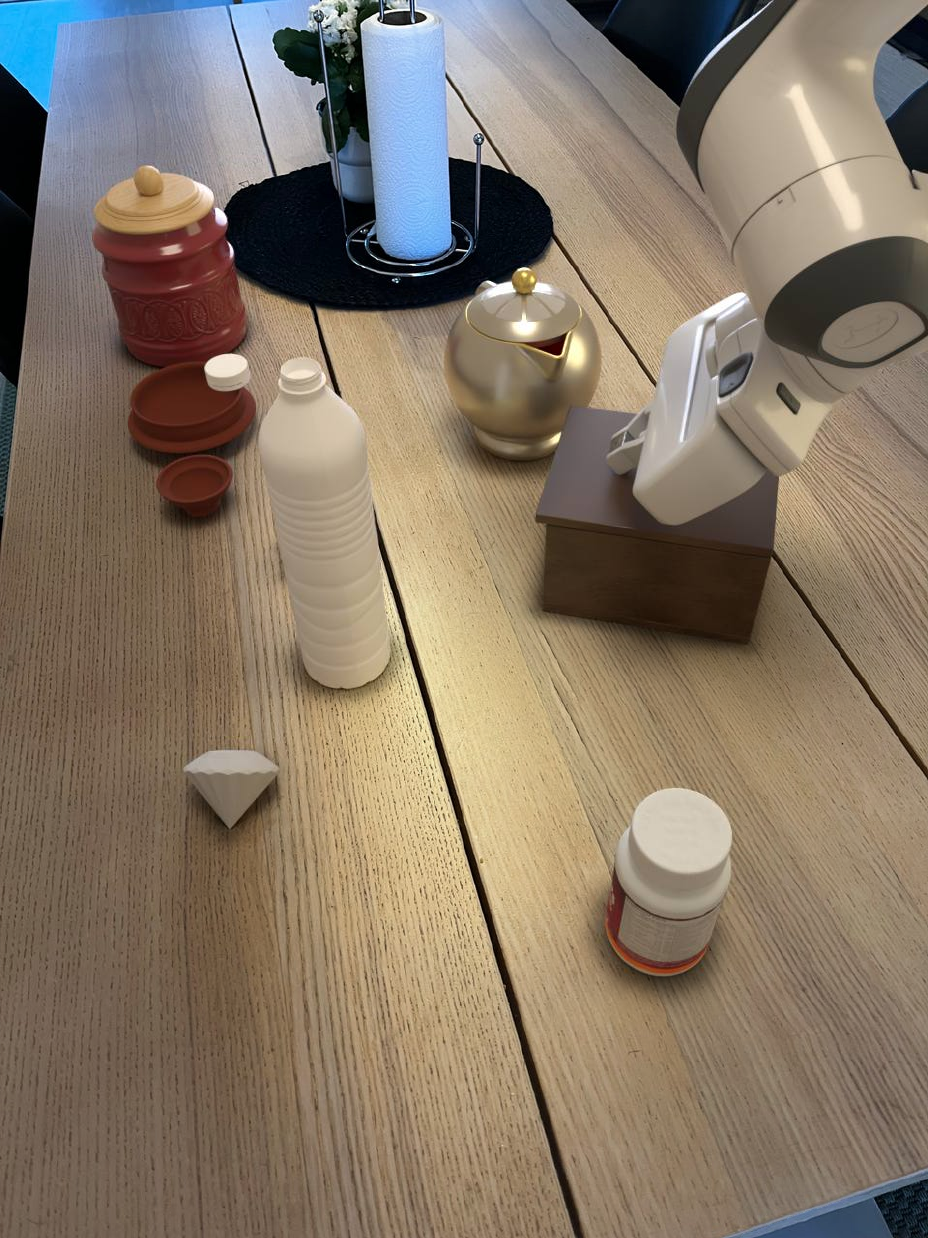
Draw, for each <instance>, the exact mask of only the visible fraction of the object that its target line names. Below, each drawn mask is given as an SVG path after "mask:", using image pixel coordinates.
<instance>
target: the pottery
mask: <svg viewBox="0 0 928 1238" xmlns="http://www.w3.org/2000/svg"><path fill="white" fill-rule="evenodd" d="M206 363H207V362H186V363H180V364H175V365H171V366H168V367H162V368H160V369H157V370H156V371H153V372H152V373H150V374H148V375H147V376H145V377H144V378H143V379H141V380H140V381H139V382H138V383H137V384H136V385H135V387H134V388H133V390H132V392H131V394H130V398H129V404H130V408H131V410H130V412H129V414H128V418H127V429H128V432H129V434H130V435H131V437H132V439H133V440H135V441H136V442H137V443H138V444H140V445H141V446H143V447H145V448H147V449H149V450H152V451H156V452H161V453H165V454H166V453H167V454H192V453H198V452H204V451H207V450H211V449H214V448H217V447H220V446H222V445H225V444H226V443H229V442H231V441H232V440H234V439H235V438H237V437H238V436H240V435H241V434H242V433H244V432H245V431H246V430H247V429H248V428H249V426H250V425H251V424H252V422H253V420H254V419H255V416H256V413H257V403H256V399H255V397H254V395H253V394H252V393H251V392H250V391H249V390H248V389H247V388H246V387H245V386H243V387H241V388H239V389H236V390H232V391H218V390H215V389H212V388H211V387H210V386H209V385H208V383H207V379H206V374H205V370H204V367H205V365H206ZM241 383H242V382H241ZM210 384H211V383H210ZM239 384H240V383H239ZM236 385H238V384H236ZM214 386H215V385H214ZM233 386H235V385H233ZM219 387H221V386H219ZM226 387H231V386H226ZM233 475H234V473H233V468H232V467H231V464H230V463H228V461H226V460H225V459H223V458H221V457H219V456H216V455H211V454H193V455H188V456H184V457H180V458H178V459H176V460H173V461H172V462H170V463H169V464H167V465H166V466H165V467H164V468H162V470H160V472H159V473H158V475H157V477H156V481H155V486H156V490H157V492H158V493H159V495H160V496H161V497H162V498H163V499H165V500H166V501H167V502H169V503H170V504H173V505H175V506H177V507H179V508H181V509H184V511H185V513H186V514H188V515H189V516H191V517H195V518H196V517H197V518H200V517H201V518H202V517H206V516H209V515H211V514H214V513H215V512H216V511H217V510H218V508H219V506H220V500H221V499H222V498H223V497H224V495H225V494H226V492H228V489H229V488H230V486H231V483H232V481H233Z"/></svg>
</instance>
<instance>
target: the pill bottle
mask: <svg viewBox="0 0 928 1238" xmlns="http://www.w3.org/2000/svg"><path fill="white" fill-rule="evenodd" d="M729 820H730V819H729V818H728V817H727V815H726V813H725V812H724V811H723V810H722V808H721V807H720V806H719V805H718V804H717V803H716V802H715V801H714V800H712V799H711V798H709V797H708V796H707V795H704V794H703V793H701V792H698V791H696V790H692V789H689V788H682V787H671V788H670V787H669V788H664V789H660V790H657V791H655V792H653V793H649V795H647V796H646V797H645V798H643V799H642V800H641V801H640V803H639V804H638V805H637V807H636V808H635V811H634V812H633V814H632V819H631V824H629V826H627V828H626V829H625V830H624V832H623V833H622V835H621V836H620V839H619V841H618V844H617V846H616V851H615V855H614V864H613V871H612V876H611V880H610V881H611V883H610V887H609V892H608V899H607V903H606V904H607V905H606V910H605V911H606V912H605V918H604V919H605V920H604V921H605V922H604V923H605V930H606V936H607V938H608V942H609V943H610V945H611V947H612V948H613V950H614V952H615V953H616V954H617V956H618V957H619V958H620V959H621V960H622V961H623V962H625V963H626V964H627V965H628V966H630V967H631V968H633V969H635V970H636V971H639V972H640V973H644V974H647V975H650V976H653V977H672V976H676V975H679V974H682V973H685V972H687V971H689V970H690V969H692V968H694V967H695V965H697V964H698V963H699V962H700V961H701V959H702V958H703V957H704V955H705V954H706V952H707V950H708V947H709V944H710V942H711V938H712V935H713V933H714V930H715V927H716V924H717V922H718V921H717V920H718V917H719V915H720V912H721V909H722V906H723V904H724V900H725V897H726V895H727V894H728V893H727V892H728V889H729V886H730V883H731V878H732V861H731V856H730V852H731V850H732V846H733V845H732V844H733V830H732V826H731V823H730V821H729Z"/></svg>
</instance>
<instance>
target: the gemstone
mask: <svg viewBox="0 0 928 1238" xmlns="http://www.w3.org/2000/svg"><path fill="white" fill-rule="evenodd" d="M182 772H183V774H185V776H186V777H187V778H188V780H189V781H190V782H191V784H193V786H194V787H195V788H196V790H197V791H198V792H199V794H200V795H201V796H202V797H203V798H204V800H205V801H206V802H207V803H208V804H209V806H210V807H211V808H212V809H213V811H214V812H215V813H216V814H217V816H218V817H219V818H220V819H221V821H222V822H223V823H224V824H225V825H226V827H227V828H228V829H229V830H231V829H232V828H233V827H234V826H235V824H236V823H237V822H238V821H239V820H240V818H241V817H242V816H243V815H244V814H245V812H247V810H248V809H249V808H250V807H251V806H252V804H253V803H254V802H255V801H256V800H257V799H258V797H259V796H260V795H261V794H262V793H263V791H264V790H265V789H266V788H267V787H268V786H269V785H270V783H271V782H272V781H273V780H274V779H275V778H276V777H277V775H279V773H280V768H279V766H278V765H276V764H275V763H274V762H272V761H271V760H269V759H268V758H267V757H266V756H264V755H263V754H261V753H259V752H258V751H256V750H248V749H247V750H246V749H245V750H244V749H242V750H241V749H240V750H239V749H225V750H224V749H221V750H208V751H206V752H205V753H202V754H201V755H200V756H198V757H197V758H195V759H194V760H192V761H190V762H189V763H188V764H187V765H186V766H184V768H182Z"/></svg>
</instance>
